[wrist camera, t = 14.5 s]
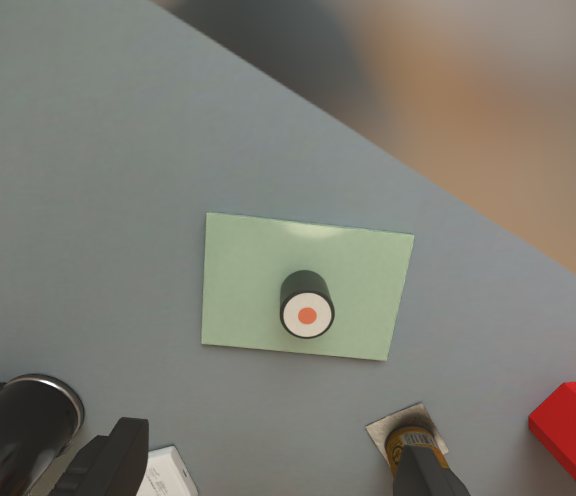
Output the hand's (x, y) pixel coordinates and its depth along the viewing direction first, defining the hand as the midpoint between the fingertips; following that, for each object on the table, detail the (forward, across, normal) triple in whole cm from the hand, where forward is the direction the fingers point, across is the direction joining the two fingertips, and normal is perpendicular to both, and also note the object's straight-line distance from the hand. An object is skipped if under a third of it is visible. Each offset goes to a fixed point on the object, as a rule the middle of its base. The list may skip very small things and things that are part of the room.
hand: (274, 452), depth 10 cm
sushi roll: (+22, -3, +4) cm, 22 cm away
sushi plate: (+23, -3, +4) cm, 23 cm away
